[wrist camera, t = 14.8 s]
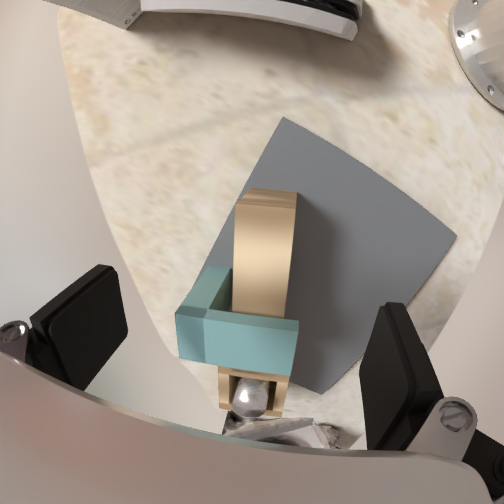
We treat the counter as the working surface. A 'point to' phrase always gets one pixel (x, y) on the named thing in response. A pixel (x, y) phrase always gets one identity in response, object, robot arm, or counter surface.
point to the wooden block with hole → (260, 278)
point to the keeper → (231, 330)
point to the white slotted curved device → (275, 12)
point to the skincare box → (106, 10)
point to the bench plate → (339, 249)
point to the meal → (283, 431)
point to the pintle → (251, 397)
